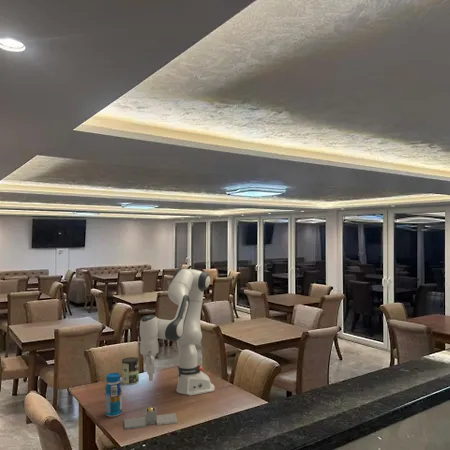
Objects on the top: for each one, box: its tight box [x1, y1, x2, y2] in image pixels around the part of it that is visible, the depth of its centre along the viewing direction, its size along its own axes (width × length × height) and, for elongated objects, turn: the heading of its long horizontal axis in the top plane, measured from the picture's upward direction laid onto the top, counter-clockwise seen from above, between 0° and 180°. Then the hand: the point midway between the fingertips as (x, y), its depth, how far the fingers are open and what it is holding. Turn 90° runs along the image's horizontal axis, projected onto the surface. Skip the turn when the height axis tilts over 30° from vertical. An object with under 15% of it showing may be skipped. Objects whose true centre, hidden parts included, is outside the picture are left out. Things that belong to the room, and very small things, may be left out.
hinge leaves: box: [124, 406, 179, 430], centre depth 206 cm, size 25×9×6 cm, turn 103°
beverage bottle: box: [104, 372, 123, 418], centre depth 216 cm, size 8×8×20 cm
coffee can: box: [121, 356, 140, 386], centre depth 263 cm, size 10×10×14 cm
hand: (150, 377), depth 206 cm, fingers open, 8 cm apart
